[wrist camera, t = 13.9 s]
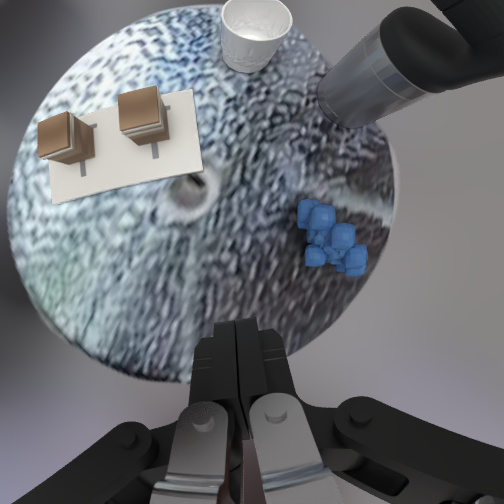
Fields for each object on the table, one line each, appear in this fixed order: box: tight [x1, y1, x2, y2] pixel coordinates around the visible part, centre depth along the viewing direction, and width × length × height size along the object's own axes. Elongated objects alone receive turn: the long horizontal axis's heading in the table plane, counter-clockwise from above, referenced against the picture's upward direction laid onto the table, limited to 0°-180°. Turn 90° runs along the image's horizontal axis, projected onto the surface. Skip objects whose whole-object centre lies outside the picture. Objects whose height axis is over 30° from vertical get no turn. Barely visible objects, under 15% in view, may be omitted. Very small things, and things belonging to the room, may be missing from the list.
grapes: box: [297, 199, 368, 277], centre depth 32 cm, size 12×7×12 cm, turn 43°
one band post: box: [38, 111, 95, 165], centre depth 27 cm, size 4×4×8 cm
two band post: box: [118, 86, 170, 146], centre depth 28 cm, size 4×4×8 cm
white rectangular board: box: [49, 89, 203, 205], centre depth 32 cm, size 11×21×2 cm, turn 99°
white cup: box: [221, 0, 292, 73], centre depth 28 cm, size 8×8×10 cm
